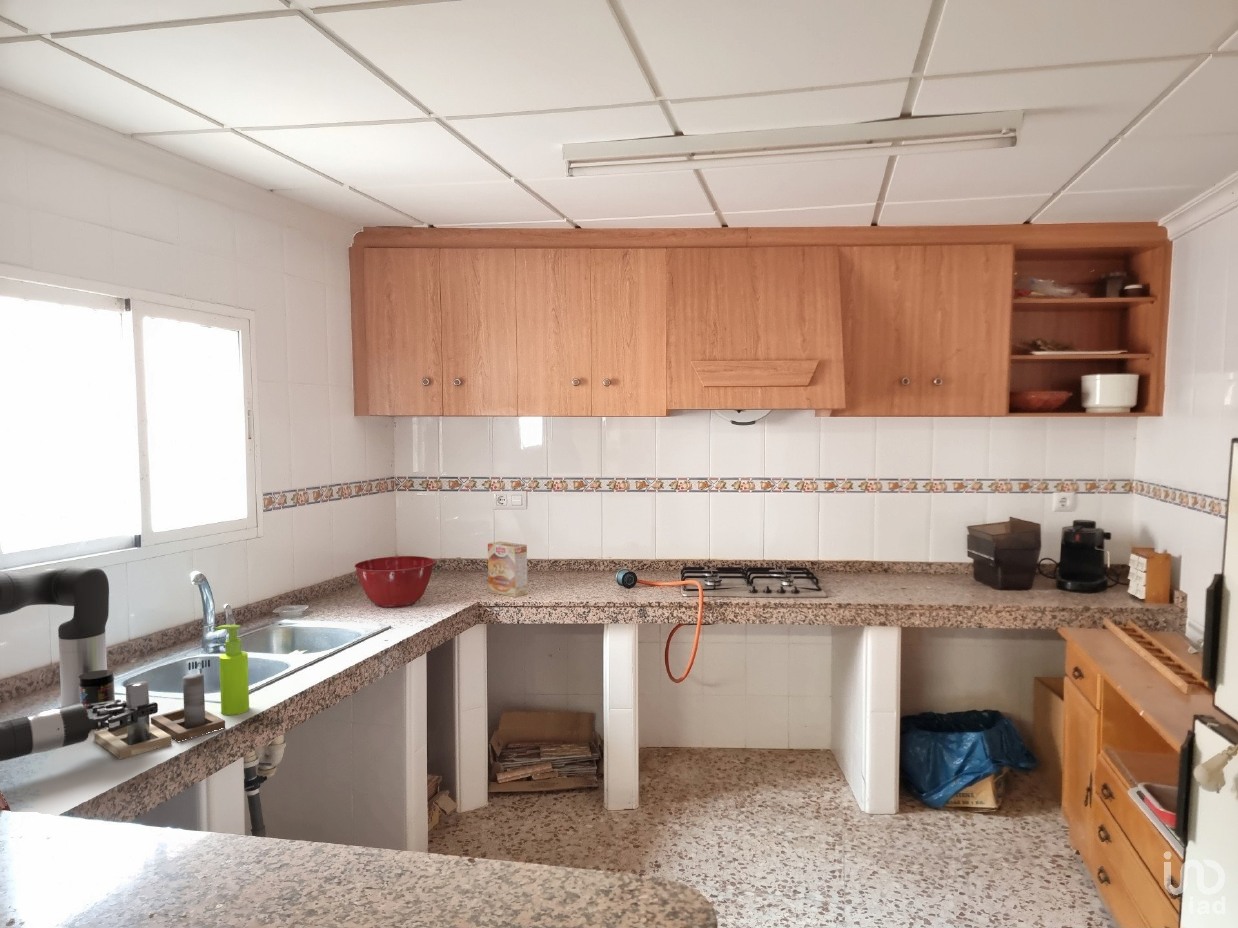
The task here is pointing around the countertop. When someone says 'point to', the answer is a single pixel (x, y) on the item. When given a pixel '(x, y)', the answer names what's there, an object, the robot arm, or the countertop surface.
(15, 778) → the countertop surface
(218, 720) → the pattern plate
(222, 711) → the soap dispenser
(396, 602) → the mixing bowl
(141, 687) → the pin
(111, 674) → the supplement container
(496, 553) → the coffeecake box
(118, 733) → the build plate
